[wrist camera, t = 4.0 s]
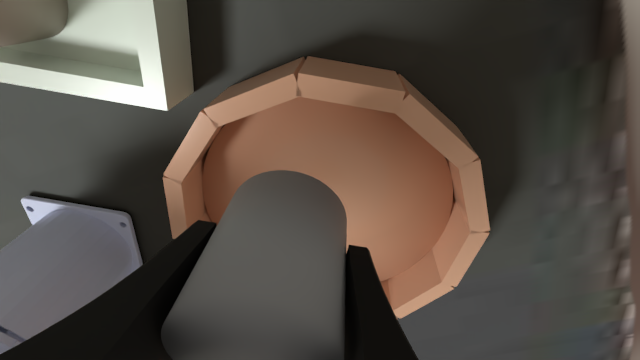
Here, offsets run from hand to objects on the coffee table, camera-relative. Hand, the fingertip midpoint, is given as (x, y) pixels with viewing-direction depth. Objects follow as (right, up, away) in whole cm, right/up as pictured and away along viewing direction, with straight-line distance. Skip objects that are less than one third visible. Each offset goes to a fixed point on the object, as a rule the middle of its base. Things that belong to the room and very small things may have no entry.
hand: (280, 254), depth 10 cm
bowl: (+2, +1, +10) cm, 11 cm away
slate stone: (0, +1, +1) cm, 2 cm away
